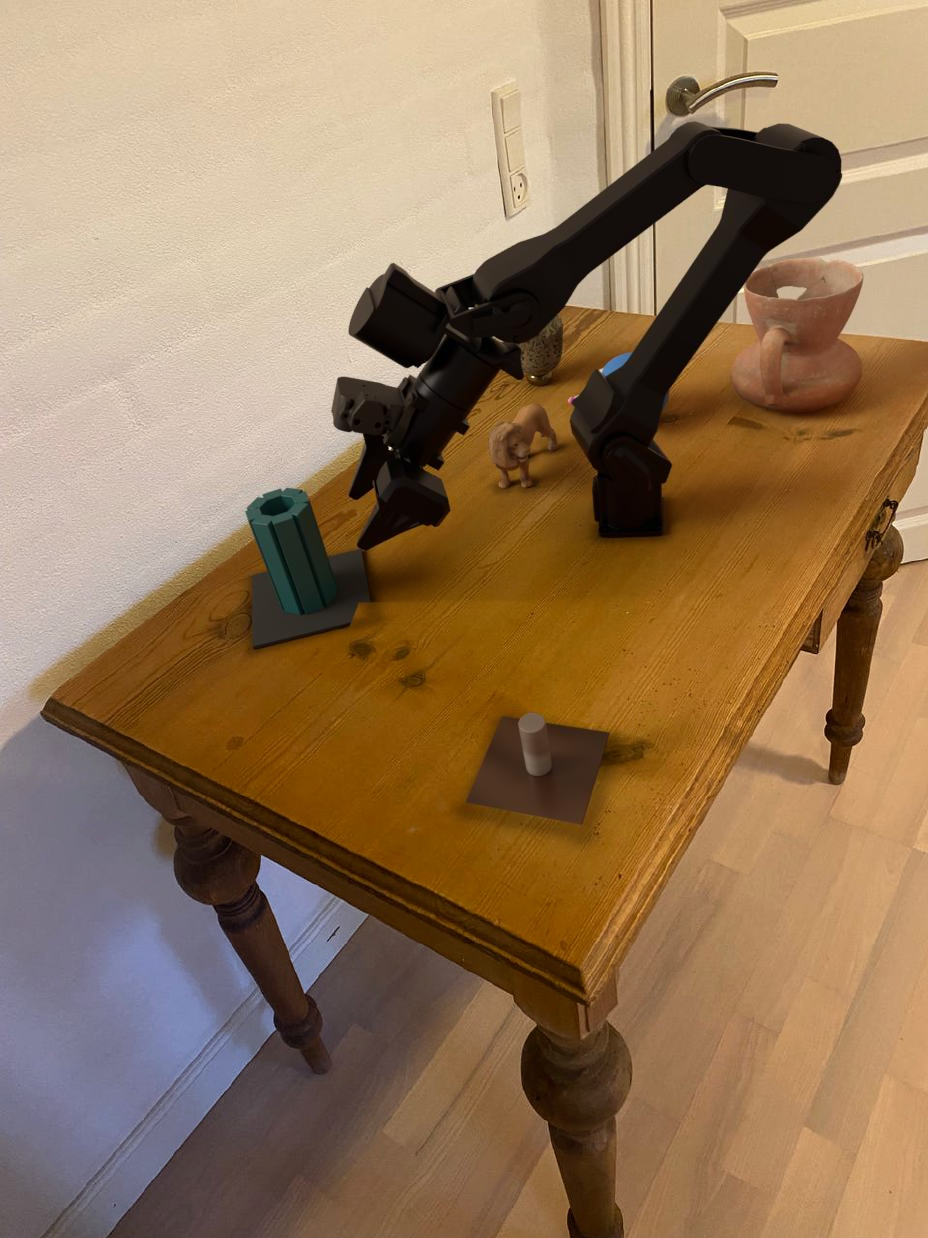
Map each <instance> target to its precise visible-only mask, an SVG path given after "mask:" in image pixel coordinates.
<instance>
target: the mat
mask: <svg viewBox="0 0 928 1238" xmlns="http://www.w3.org/2000/svg"><path fill="white" fill-rule="evenodd" d="M328 559H329V562H330V565H331V568H332V571H333V574H334V577H335V580H336V583H337V586H338V591H337V593H338V594H337V595H336V597H335V598H334V599H333V600H332V601H331V603H330V604H329V605H324V604H323V607H324V609H321V610H318V611H315V612H312V613H309V614H307V615H306V614H305V611H304V612H303V613H302V614H301V615H297V614H292V613H287V612H285V610H282V608H281V606H280V603H279V600H278V598H277V595H276V593H275V590H274V587H273V585H272V582H271V579H270V577H269V574H268V572H267V571H264V572H259V573H255V574H252V575H251V576H252V577H251V591H252V592H251V605H252V607H251V608H252V609H251V611H252V612H251V613H252V614H251V617H252V621H251V624H252V627H251V628H252V633H251V634H252V635H251V637H252V638H251V640H252V641H251V642H252V649H253V650H256V649H260V648H265V647H269V646H273V645H278V644H281V643H284V642H288V641H293V640H296V639H302V638H305V637H309V636H312V635H316V634H317V635H318V634H321V633H326V632H328V631H333V630H337V629H342V628H347V627H350V626H351V625H352V621H353V620H354V617H355V614H356V611H357V608H358V606H359V604H361V603H372V599H371V595H370V589H369V582H368V578H367V577H368V576H367V571H366V566H365V565H366V564H365V559H364V555H363V549H361V548H357V549H354V550H350V551H346V552H341V553H337V554H333V555H328Z"/></svg>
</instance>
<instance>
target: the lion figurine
mask: <svg viewBox="0 0 928 1238" xmlns="http://www.w3.org/2000/svg"><path fill="white" fill-rule="evenodd" d="M550 423H551V422H550V419H549V416H548V413H547V410H546V409H545V407H543V406H542V405H541V404H539V403H537V402H536V403H530V404H527V405H525V406H522V407H521V408H520V409H519V411H518V412H517V415H516V417H515V418H514V419H513V421H512V422H511V421H508V420H506V421H501V422H500V423H498V424H496V425H495V427H494V428H492V429H491V432H490V434H489V436H488V454H489V457H490V461H491V463H492V464H494V465H495V468H497V469H498V472H499V475H500V478H501V480H500V481H499V482H498V487H499V488H501V489H507V488H509V486H510V484H511V480H510V474H509V472H514V471H516V470H518V469H520V478H519V479H520V482H521V483H520V484H521V486H522V488H525V489H526V488H530V487H532V486H534V485H533V482H532V478H531V475H530V460H529V454H530V452H531V446H532V444H533V442H534V439H535V435H536V433H539V436H540V438H549V442H548V445H547V450H549V451H556V450H557V449H558V447H559V445H558V440H557V434H556V431H555V429H553V428H552V426H551V424H550Z"/></svg>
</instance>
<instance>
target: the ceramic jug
mask: <svg viewBox="0 0 928 1238" xmlns="http://www.w3.org/2000/svg"><path fill="white" fill-rule="evenodd" d="M863 283H864V272H863V271H862V270H861V269H860V267H858V266H856V265H855V264H854V263H851V262H848V261H844V260H839V259H829V260H828V261H826V260H823V258H822V257H799V258H791V259H784V260H781V261H777V262H772V263H771V264H769V265H765V266H762V267H759V268H758V269H757V268H756V269H755V270H754V271H753V273H752V274H751V276H750V277H749V278H748V280H747V281H746V283H745V284H744V285H743V292H744V298H745V303H746V308H747V313H748V315H749V317H750V320H751V323H752V326H753V329H754V331H755V333H756V336H757V337H758V340H757V341H755V342H753V343H751V345H749V346H747V347H746V348H744V350H742V351H741V352H740V353H739V354H738V355H737V356H736V358H735V359H734V361H733V363H732V366H731V368H730V373H729V374H730V375H729V376H730V382H731V385H732V387H733V389H734V391H735V393H736V394H737V395H738V396H739V397H740V398H742V400H745V401H746V402H748V403H749V404H752V405H753V406H755V407H759V408H760V409H764V410H769V411H772V412H779V413H780V412H781V413H804V412H805V413H806V412H813V411H817V410H821V409H824V408H828V407H831V406H833V405H836V404H838V403H839V402H841V401H843V400H844V399H846V398H847V397H848V396H849V395H850V394H852V393H853V392H854V390H855V389H856V388H857V387H858V385H859V383H860V381H861V379H862V375H863V363H862V359H861V357H860V355H859V354H858V352H857V351H856V350H855V349H854V347H852V346H851V345H850V344H849V343H847V342H845V341H844V340H842V339H840V338H839V337H840V335H841V334H842V332H843V330H844V329H845V327H846V325H847V323H848V321H849V319H850V317H851V316H852V314H853V311H854V310H855V307H856V304H857V302H858V299H859V297H860V294H861V290H862V287H863ZM785 287H786V288H787V287H793V288H804V289H806V290H804V291H803V292H802V294H801V295H799V296H798V297H797V298H796V299H794V298H784V297H779V294H778V290H780V289H781V288H785Z"/></svg>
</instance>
